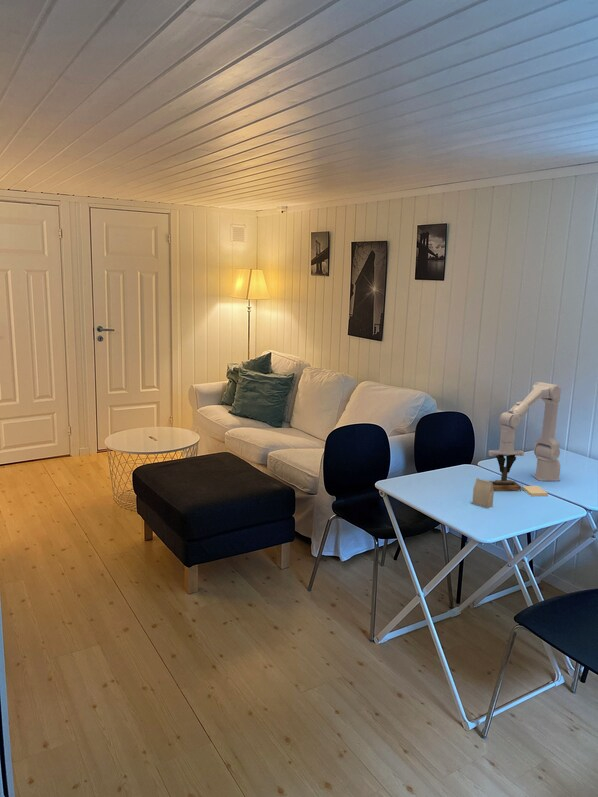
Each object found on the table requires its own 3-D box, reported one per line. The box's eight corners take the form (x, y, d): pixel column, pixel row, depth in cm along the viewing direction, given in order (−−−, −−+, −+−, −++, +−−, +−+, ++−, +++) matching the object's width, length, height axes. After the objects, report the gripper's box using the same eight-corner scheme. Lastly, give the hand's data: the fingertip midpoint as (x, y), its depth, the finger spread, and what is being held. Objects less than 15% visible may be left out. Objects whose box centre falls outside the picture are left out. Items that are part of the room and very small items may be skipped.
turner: (510, 487, 264) (512, 466, 262) (511, 488, 262) (513, 467, 260) (494, 487, 263) (496, 466, 261) (495, 488, 262) (497, 467, 260)
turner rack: (513, 485, 267) (514, 480, 266) (520, 491, 260) (521, 486, 259) (486, 485, 266) (486, 481, 265) (492, 491, 259) (492, 486, 258)
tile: (537, 485, 262) (547, 493, 254) (537, 489, 263) (547, 497, 254) (521, 486, 262) (531, 493, 253) (521, 490, 262) (531, 497, 253)
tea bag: (487, 508, 239) (489, 483, 238) (472, 503, 244) (474, 479, 242) (492, 505, 242) (494, 481, 240) (477, 501, 247) (478, 477, 245)
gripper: (520, 438, 263) (517, 469, 266) (486, 438, 262) (484, 469, 265) (527, 442, 256) (524, 474, 259) (493, 442, 255) (490, 474, 258)
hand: (504, 472), depth 261 cm, fingers closed on turner, 2 cm apart
